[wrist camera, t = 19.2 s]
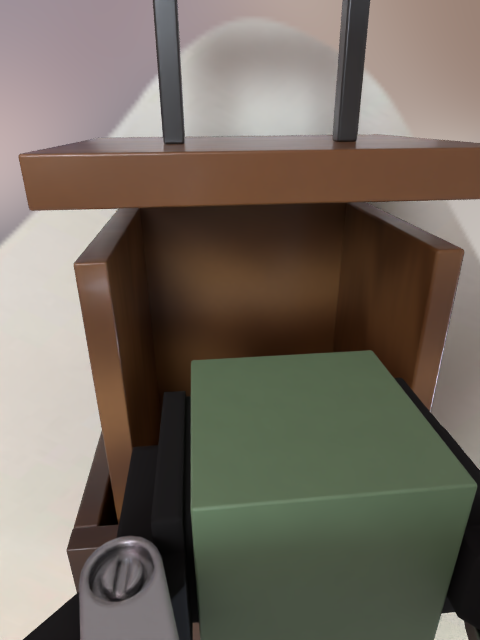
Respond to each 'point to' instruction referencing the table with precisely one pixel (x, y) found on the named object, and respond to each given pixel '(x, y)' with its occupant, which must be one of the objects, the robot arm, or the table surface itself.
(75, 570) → the cabinet
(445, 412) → the table surface
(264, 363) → the block
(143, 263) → the drawer
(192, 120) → the table surface
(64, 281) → the table surface
